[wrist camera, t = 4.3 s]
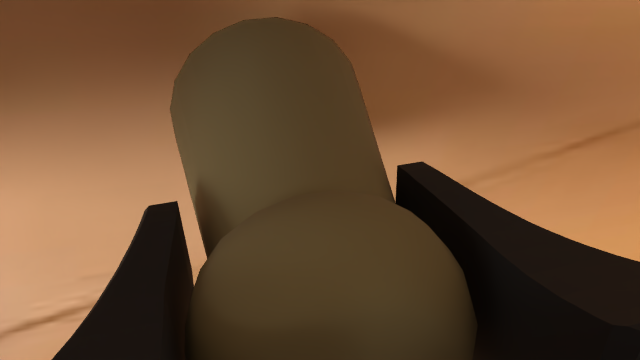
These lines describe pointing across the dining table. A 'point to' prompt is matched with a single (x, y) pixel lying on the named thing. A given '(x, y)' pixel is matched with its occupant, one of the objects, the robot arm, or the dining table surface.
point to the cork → (303, 212)
